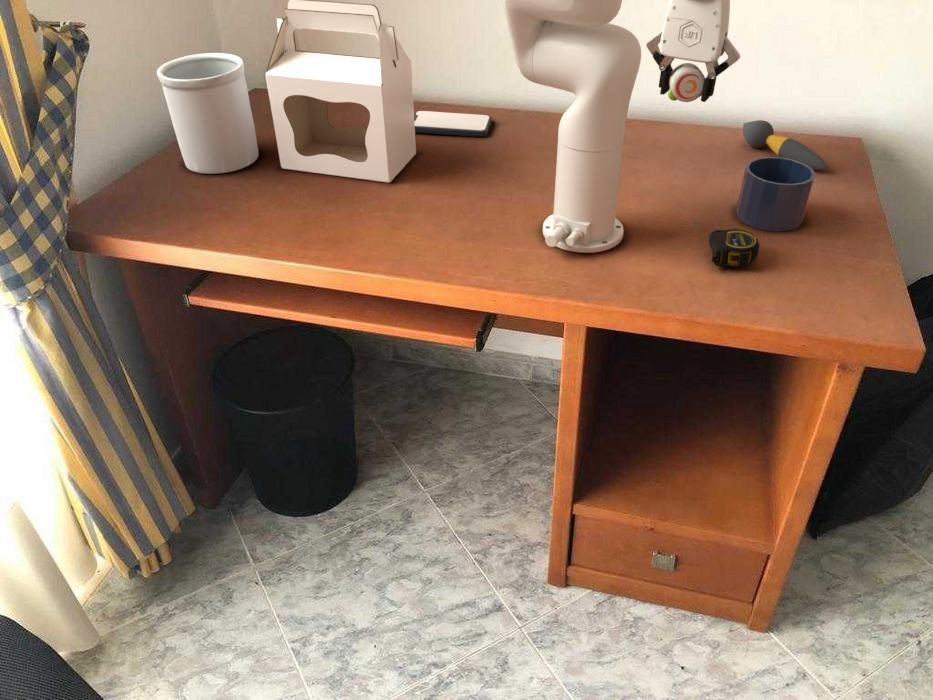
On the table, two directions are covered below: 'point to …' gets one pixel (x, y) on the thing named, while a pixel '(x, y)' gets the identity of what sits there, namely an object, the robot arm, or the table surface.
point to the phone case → (452, 123)
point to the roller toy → (686, 83)
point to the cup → (774, 193)
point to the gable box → (340, 95)
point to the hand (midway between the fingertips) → (684, 95)
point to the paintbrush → (780, 144)
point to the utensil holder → (210, 111)
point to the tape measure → (733, 247)
